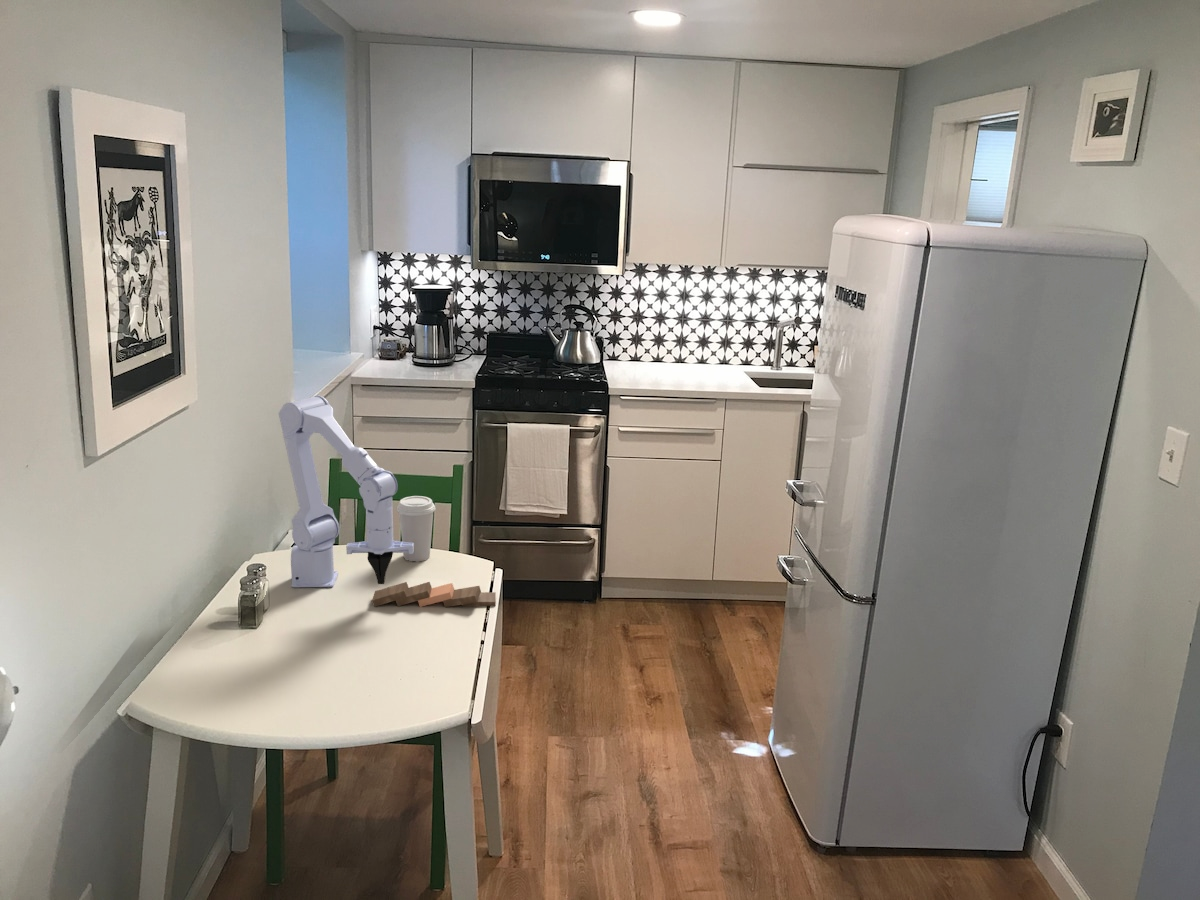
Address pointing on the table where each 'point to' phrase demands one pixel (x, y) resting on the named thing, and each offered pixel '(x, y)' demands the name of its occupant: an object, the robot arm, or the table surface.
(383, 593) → the domino
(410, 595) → the domino
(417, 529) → the coffee cup
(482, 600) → the domino
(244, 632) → the table surface
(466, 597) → the domino
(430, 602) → the domino
